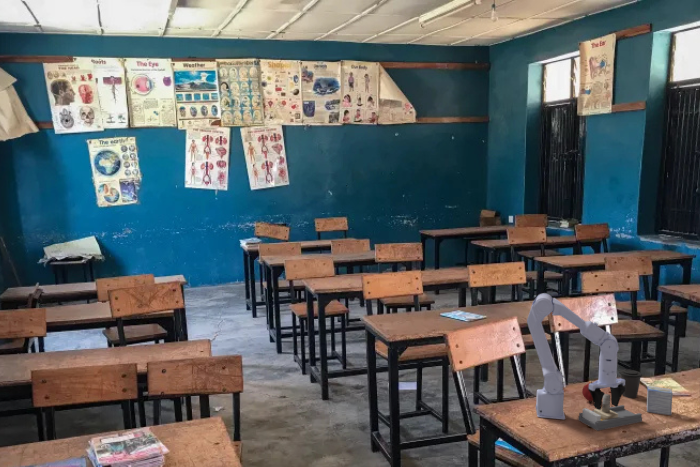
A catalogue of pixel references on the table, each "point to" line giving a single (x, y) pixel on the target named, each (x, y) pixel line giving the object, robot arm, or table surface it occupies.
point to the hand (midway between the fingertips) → (606, 407)
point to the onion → (587, 392)
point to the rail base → (600, 424)
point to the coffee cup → (630, 382)
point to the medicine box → (659, 400)
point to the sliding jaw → (606, 409)
